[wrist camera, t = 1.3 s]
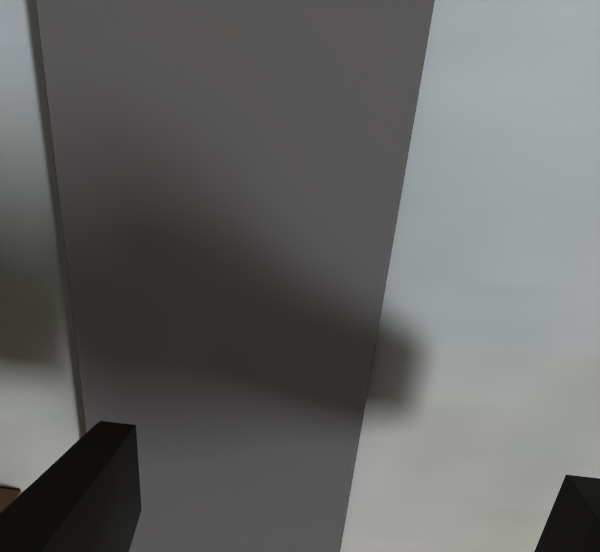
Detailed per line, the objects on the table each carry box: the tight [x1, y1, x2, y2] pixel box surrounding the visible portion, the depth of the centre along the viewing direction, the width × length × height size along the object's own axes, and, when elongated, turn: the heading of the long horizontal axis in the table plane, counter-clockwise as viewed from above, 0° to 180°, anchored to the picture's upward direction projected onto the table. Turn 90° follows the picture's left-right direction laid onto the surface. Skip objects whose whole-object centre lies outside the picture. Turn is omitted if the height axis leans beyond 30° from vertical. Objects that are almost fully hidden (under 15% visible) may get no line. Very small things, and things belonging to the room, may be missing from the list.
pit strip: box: [36, 0, 435, 552], centre depth 12 cm, size 18×6×1 cm, turn 175°
